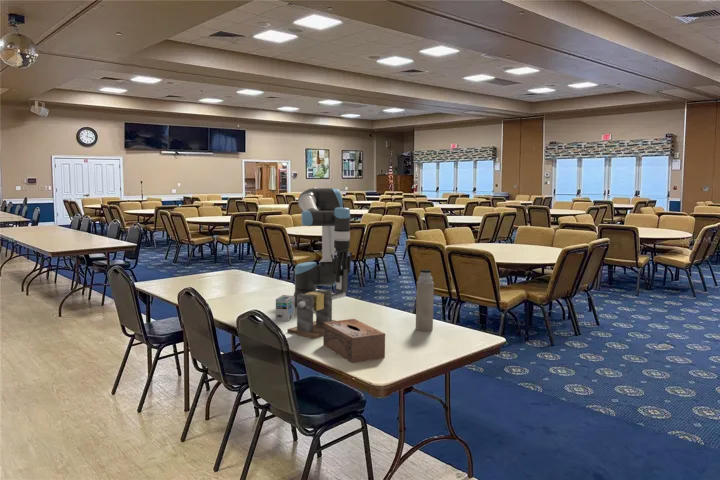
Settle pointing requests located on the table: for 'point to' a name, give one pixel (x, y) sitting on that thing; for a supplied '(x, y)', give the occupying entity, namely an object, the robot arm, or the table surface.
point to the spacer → (317, 300)
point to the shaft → (339, 293)
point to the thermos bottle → (424, 301)
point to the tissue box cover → (354, 340)
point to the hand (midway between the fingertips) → (341, 288)
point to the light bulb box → (285, 307)
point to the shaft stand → (306, 316)
